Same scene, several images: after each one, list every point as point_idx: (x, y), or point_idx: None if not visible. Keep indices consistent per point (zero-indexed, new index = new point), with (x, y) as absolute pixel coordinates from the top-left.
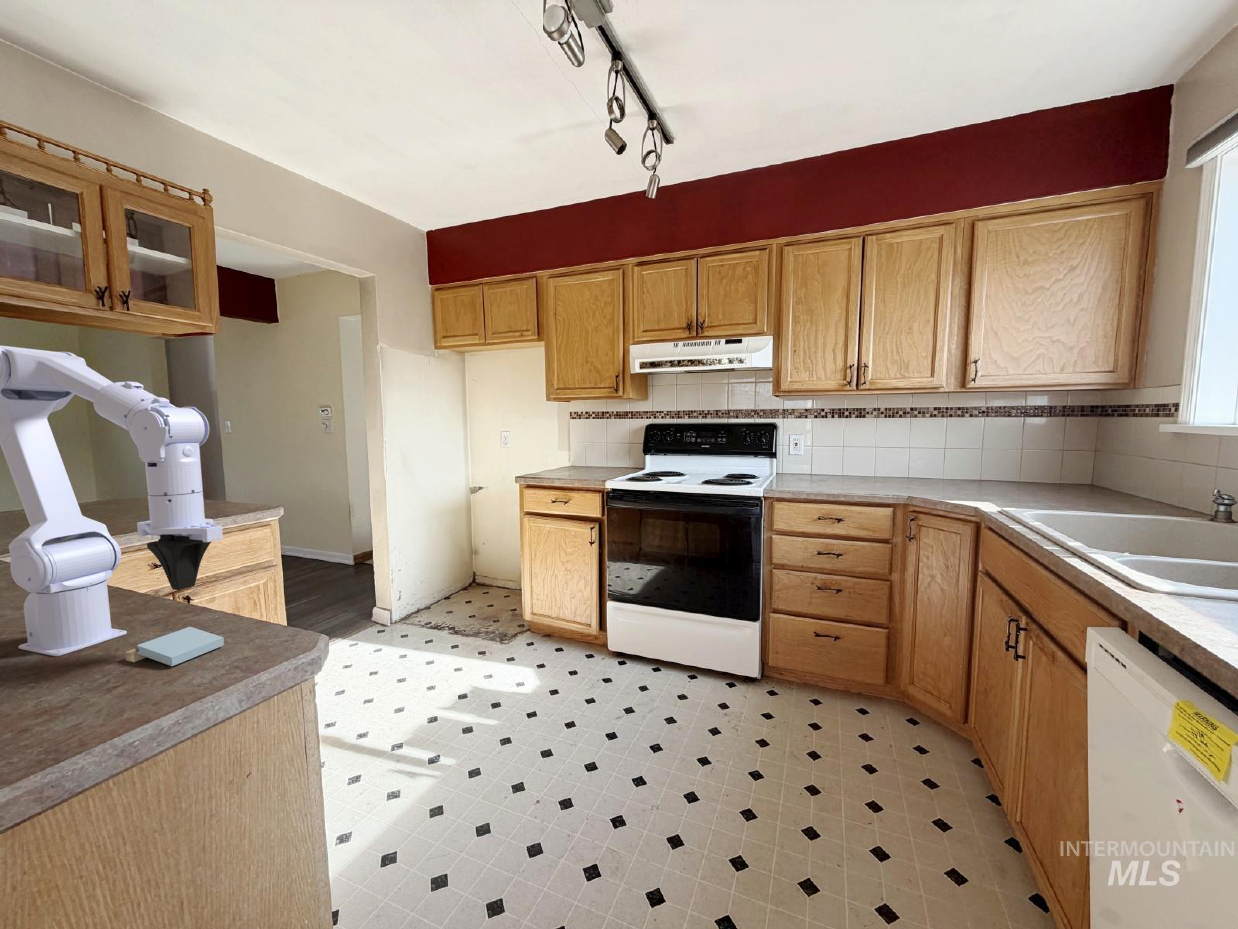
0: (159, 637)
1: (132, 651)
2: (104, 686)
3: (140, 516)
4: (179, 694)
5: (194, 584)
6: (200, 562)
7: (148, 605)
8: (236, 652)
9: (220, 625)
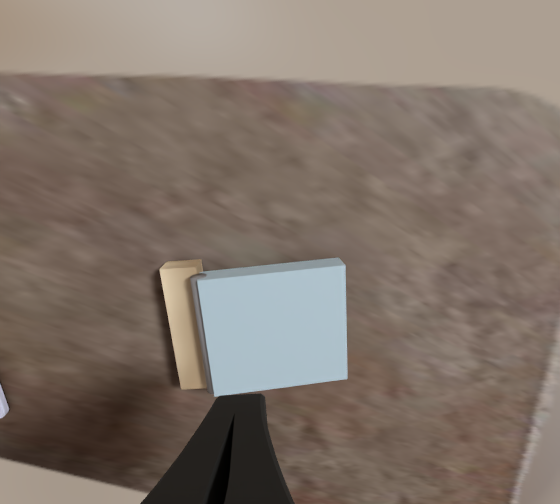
0: (209, 353)
1: (193, 382)
2: (285, 436)
3: None
4: (473, 408)
5: (263, 400)
6: (280, 481)
7: None
8: (395, 257)
9: (133, 150)
